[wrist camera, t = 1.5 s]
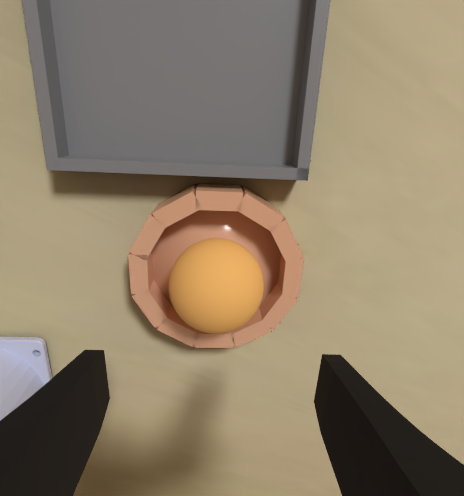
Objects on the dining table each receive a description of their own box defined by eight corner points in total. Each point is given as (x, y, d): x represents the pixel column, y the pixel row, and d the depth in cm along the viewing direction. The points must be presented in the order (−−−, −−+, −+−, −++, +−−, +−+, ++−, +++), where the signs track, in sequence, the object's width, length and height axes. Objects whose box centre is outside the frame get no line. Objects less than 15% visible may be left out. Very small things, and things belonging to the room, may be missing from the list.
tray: (299, 175, 19) (307, 180, 17) (63, 165, 18) (47, 170, 16) (325, -47, 15) (338, -67, 14) (31, -70, 14) (7, -94, 13)
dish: (285, 329, 22) (292, 348, 21) (141, 327, 22) (134, 346, 20) (303, 187, 19) (312, 195, 17) (132, 181, 18) (123, 188, 17)
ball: (255, 303, 21) (265, 355, 16) (175, 301, 21) (163, 354, 16) (261, 227, 19) (275, 261, 15) (174, 224, 19) (159, 258, 14)
